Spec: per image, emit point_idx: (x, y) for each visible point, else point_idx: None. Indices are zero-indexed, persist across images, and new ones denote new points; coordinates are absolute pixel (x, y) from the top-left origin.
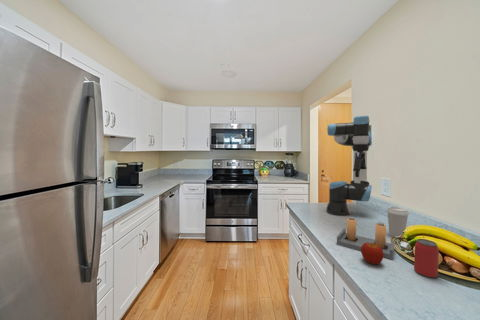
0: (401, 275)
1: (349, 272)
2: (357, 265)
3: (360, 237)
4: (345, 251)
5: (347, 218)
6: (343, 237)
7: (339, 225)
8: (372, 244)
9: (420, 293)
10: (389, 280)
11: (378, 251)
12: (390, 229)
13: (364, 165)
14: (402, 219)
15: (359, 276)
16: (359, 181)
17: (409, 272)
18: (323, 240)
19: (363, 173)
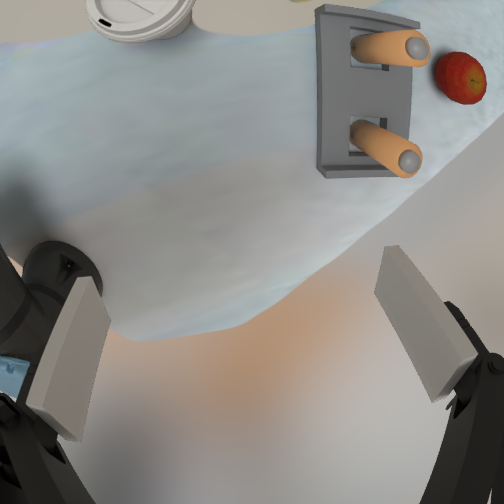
0: (459, 22)
1: (495, 119)
2: (471, 105)
3: (335, 111)
4: (426, 137)
5: (406, 176)
6: (371, 160)
7: (209, 216)
8: (468, 79)
9: (489, 11)
10: (485, 50)
11: (482, 67)
12: (182, 28)
13: (39, 476)
14: None
15: (498, 101)
16: (406, 262)
17: (438, 2)
18: (390, 205)
19: (69, 358)
